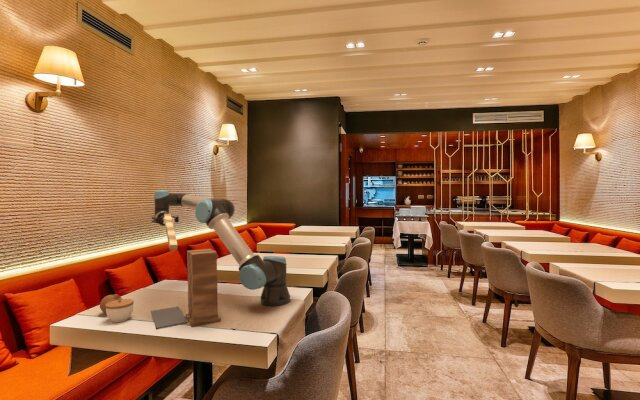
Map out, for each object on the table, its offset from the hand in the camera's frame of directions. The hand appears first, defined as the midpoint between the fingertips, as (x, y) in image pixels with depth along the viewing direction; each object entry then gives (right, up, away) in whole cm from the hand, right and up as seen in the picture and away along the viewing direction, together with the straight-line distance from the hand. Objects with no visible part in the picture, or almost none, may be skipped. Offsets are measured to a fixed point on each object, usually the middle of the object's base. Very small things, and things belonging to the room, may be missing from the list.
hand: (169, 221), depth 162 cm
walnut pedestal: (+21, -42, -14) cm, 50 cm away
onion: (-25, -43, -6) cm, 50 cm away
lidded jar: (-16, -43, -14) cm, 48 cm away
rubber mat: (+5, -43, -12) cm, 44 cm away
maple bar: (+1, -6, -1) cm, 6 cm away
